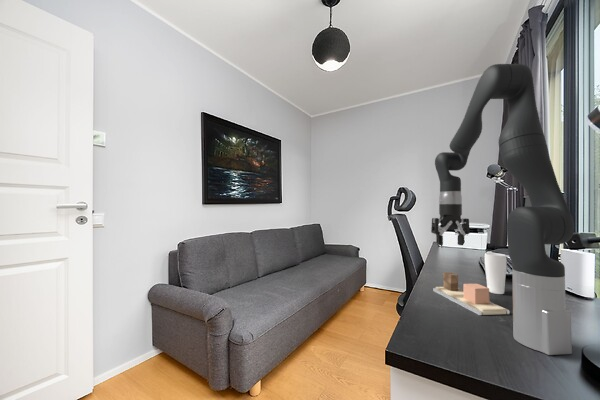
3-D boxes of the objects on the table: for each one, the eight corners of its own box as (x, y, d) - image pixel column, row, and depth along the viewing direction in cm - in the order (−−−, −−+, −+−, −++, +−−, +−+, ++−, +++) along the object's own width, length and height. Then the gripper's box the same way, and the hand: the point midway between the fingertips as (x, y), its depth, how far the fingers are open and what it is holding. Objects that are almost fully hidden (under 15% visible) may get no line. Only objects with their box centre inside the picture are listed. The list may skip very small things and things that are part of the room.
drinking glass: (481, 290, 98) (480, 253, 99) (490, 288, 101) (490, 252, 102) (500, 296, 92) (500, 256, 93) (510, 294, 95) (510, 255, 95)
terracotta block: (489, 303, 80) (489, 288, 81) (475, 304, 80) (475, 288, 80) (476, 298, 85) (476, 283, 86) (463, 298, 85) (463, 283, 85)
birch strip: (506, 314, 76) (506, 289, 76) (482, 314, 75) (482, 290, 76) (454, 290, 98) (454, 271, 98) (435, 290, 97) (435, 271, 97)
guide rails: (509, 314, 76) (509, 310, 76) (479, 315, 75) (479, 311, 75) (457, 290, 98) (457, 287, 98) (433, 291, 97) (433, 287, 97)
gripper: (439, 202, 91) (439, 246, 91) (474, 203, 93) (475, 246, 92) (427, 203, 99) (427, 243, 98) (460, 203, 100) (460, 243, 100)
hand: (450, 245), depth 95 cm, fingers open, 8 cm apart
